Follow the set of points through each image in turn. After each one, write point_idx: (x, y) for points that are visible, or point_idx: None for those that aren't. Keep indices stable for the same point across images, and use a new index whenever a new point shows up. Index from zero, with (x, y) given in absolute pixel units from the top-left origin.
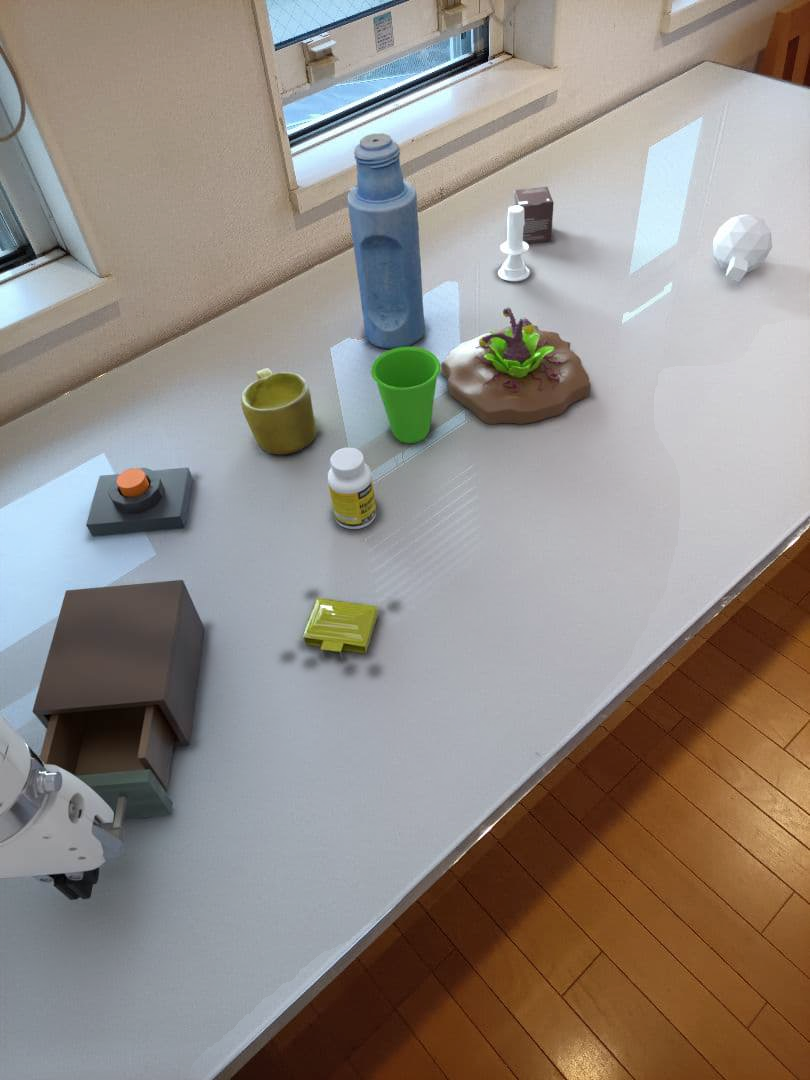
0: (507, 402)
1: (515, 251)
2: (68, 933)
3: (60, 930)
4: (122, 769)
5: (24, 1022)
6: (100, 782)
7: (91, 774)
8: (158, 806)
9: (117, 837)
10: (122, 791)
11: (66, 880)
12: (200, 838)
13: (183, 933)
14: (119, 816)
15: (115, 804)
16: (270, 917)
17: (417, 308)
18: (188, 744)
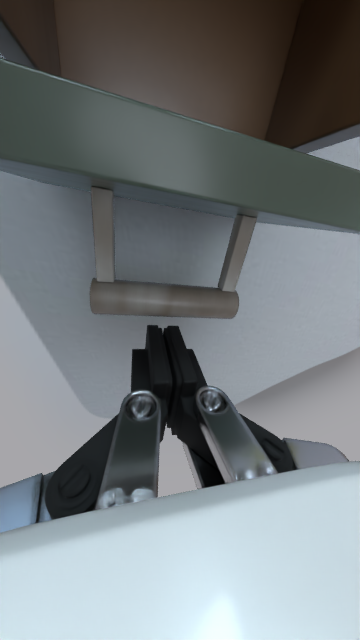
0: None
1: None
2: (118, 339)
3: (107, 336)
4: (193, 68)
5: (93, 398)
6: (265, 194)
7: (110, 47)
8: (265, 222)
9: (233, 316)
10: (277, 219)
11: (170, 426)
12: (270, 258)
13: (231, 347)
14: (237, 269)
15: (208, 210)
16: (299, 341)
17: None
18: None
